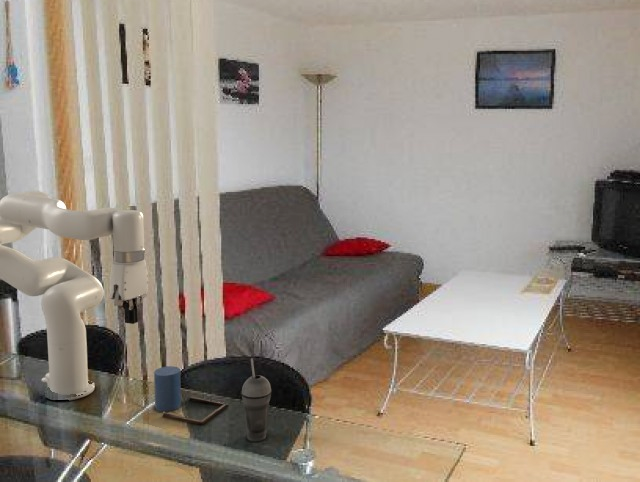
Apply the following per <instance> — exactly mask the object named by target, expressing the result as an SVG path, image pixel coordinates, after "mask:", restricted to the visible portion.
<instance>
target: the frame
mask: <svg viewBox="0 0 640 482" xmlns="http://www.w3.org/2000/svg"><path fill="white" fill-rule="evenodd" d="M205 399H206V398H201V397H196V396H190V397H189V401H191V402H197V403H202V404H208V405H214V406H218V408H216V409H214V411H212V412H211V413H209V414H208V415H206V416H205V417H203V418H201V419H196V418H190V417H186V416H180V415H175V414H172V413H171V414H170V413H162V418H166V419H168V420H169V419H170V420H175V421H179V422H184V423H188V424H193V425H198V426H203V425H204V424H205V423H207V422H208V421H209V420H211V419H212V418H214V417H215V416H216V415H217V414H219V413H221V412H222V411H223V410H225V409H227V408H228V407H229V404H228V405H227V404H226V405H225V404H223V403H224V402H223V403H220V402H221V401H218V402H213V401H214V400H212V401H210V400H211V399H207V400H205Z"/></svg>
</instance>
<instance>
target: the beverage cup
mask: <svg viewBox="0 0 640 482" xmlns="http://www.w3.org/2000/svg"><path fill="white" fill-rule="evenodd" d="M250 365H251V373H252V376H250V377H248V378H247V379H246V380H245V381H244V383H243V385H242V387H241V391H240V395H241V399H242V403H243V409H244V411H243V412H244V420H245V421H244V422H245V431H246V437H247V440H248V441H250V442H260V441H263V440H265V439H266V438H267V430H268V421H269V411H270V401H271V397H272V393H273V392H272V388H271V387H272V386H271V383H270V382H269V380H268V379H267V378H266V377H265V376H263V375H260V374H258V375H257V374H256V373H255V367H254V357H253V358H250Z"/></svg>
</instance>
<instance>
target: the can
mask: <svg viewBox="0 0 640 482" xmlns="http://www.w3.org/2000/svg"><path fill="white" fill-rule="evenodd" d="M181 373H182V372H181V368H180V367H179V366H173V365H172V366H171V365H169V366H162V367H158V368H157V369H155V370H154V372H153V377H154V409H155V410H156V411H159V412H171V411H172V412H173V411H175V410H177V409H179V408H181V406H182V383H181V381H182V380H181V378H182V377H181V375H182V374H181Z"/></svg>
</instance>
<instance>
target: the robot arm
mask: <svg viewBox="0 0 640 482" xmlns="http://www.w3.org/2000/svg"><path fill="white" fill-rule="evenodd" d="M37 228H38V229H43V230H44V229H45V230H49V232H51V233H53V234H54V235H56V236H58V237H62V238H67V239H74V240H78V241H79V240H80V241H91V240H96V239H99V238H104V237H109V236H112V238H113V239H112V240H113V243H112V244H113V245H112V246H113V262H112V263H111V266H110V272H109V284H108V293H109V299H110V300H113V306H116V307H121V309H122V310H123V319H124V320H123V321H124V323H125V324H130V325H134V324H137V323H139V308H140V306H141V302H142V300H143V299H145V298H146V297H147V293H148V292H149V273H148V266H147V262H146V259H145V258H146V257H145V253H146V251H145V230H144V229H145V227H144V215H143V213H142V211H140V210H136V209H119V208H115V207H103V208H96V209H89V210H85V211H81V210H73V209H69V208H68V209H67V206H66V205H65V203H64V202H63V201H62V200H61V199H57V198H52V197H51V196H49V194H47V193H46V192H44V191H39V190H31V191H30V190H29V191H19V192H12V193H9V194H7V195H5V196H3V197H2V198H1V199H0V279H1V280H2V281H3V282H5V283H7V284H8V285H10V286H12V287H13V288H14V289H16V290H18V291H19V292H20V293H22V294H24V295H26V296H29V297H39V296H41V302H40V304H41V310H42V314H43V316H44V317H43V318H44V321H45V327H46V339H47V341H46V342H47V355H48V356H47V357H48V359H47V360H48V372H46V373H45V375H44V377H42V378H41V380H40V381H41V383H44V384H47V385H46V386H47V388H48V387H49V388H50V390H51V391H52V392H55V393H58V394H61V395H70V394H76V395H77V396H76V397H71V398H65V399H68V400H69V401H73V400H78V399H80V398H81V399H82V398H84V397H86V396H89V395H90V394H92V393H93V392H94V391H95V389H96V388H95V382H93V383H92V384H89V383H88V381H89V369H88V345H87V344H88V343H87V328H86V325H85V322H84V320H83V319H82V317H81V314H80V313H83V312H85V311H86V310H89V309H91V308H94V307H96V306H98V305H99V304H100V303H101V302H102V300H103V298H104V297H105V296H104V295H105V291H104V289H105V288H104V287H103V284H102V283H101V282H100V281H99V279H97V278H96V277H95V276H93V275H92V274H91V273H89V272H87V271H86V270H84V269H83V268H82V267H80V266H78V265H76V264H74V263H73V262H72V261H70V260H69V259H66V258H63V257H59V256H53V257H47V258H43V259H34V258H31V257H29V256H27V255H25V254H24V252H23V253H22V252H21V251H20V250H17V249H15V248H12V247H9V246H6V245H7V244H11V243H14V242H18V241H20V240H23V239H24V238H25V237H26V236H28V235H29V234H31V233H32V232H33V231H34V230H35V229H37ZM5 244H6V245H5ZM81 394H83V395H81ZM78 395H80V396H78Z"/></svg>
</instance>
